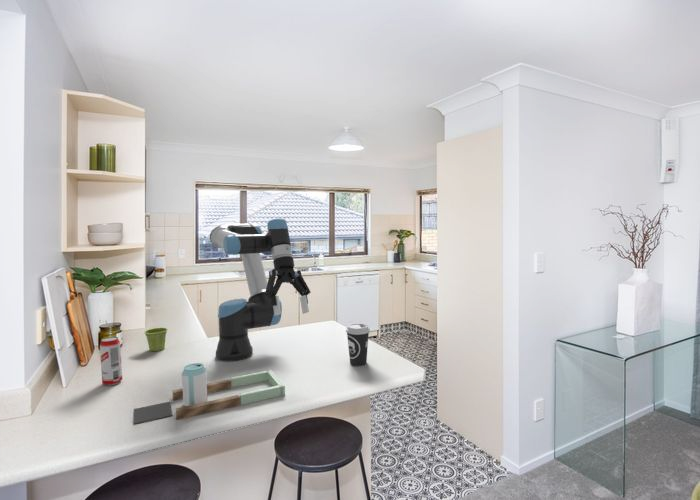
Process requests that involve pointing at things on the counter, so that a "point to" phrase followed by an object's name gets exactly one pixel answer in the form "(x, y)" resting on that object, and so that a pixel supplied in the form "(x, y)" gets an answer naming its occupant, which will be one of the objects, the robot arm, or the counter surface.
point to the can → (194, 384)
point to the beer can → (111, 361)
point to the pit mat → (152, 412)
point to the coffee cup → (358, 343)
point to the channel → (209, 405)
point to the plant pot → (156, 338)
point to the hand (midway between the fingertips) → (292, 313)
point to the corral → (259, 394)
